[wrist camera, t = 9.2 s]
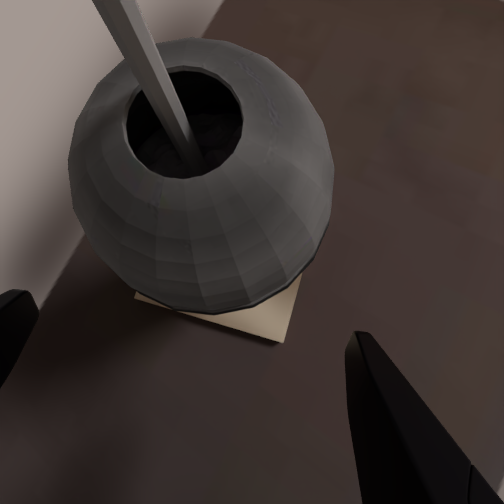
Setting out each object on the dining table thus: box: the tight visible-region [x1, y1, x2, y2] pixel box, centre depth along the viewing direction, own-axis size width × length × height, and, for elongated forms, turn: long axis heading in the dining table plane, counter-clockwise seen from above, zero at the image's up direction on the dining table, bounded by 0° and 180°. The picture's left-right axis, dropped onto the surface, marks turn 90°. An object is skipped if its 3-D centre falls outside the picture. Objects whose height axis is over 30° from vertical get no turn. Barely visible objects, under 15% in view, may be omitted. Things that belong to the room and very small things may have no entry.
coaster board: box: [134, 273, 302, 343], centre depth 21 cm, size 10×10×1 cm
